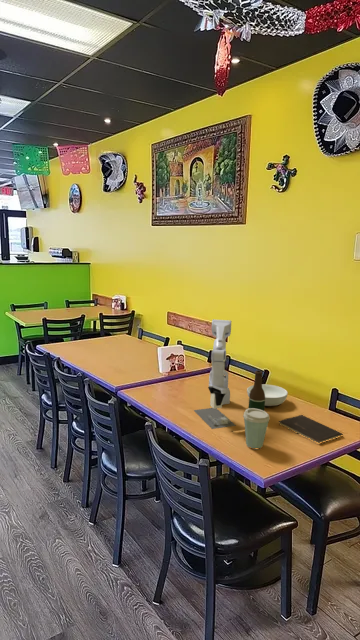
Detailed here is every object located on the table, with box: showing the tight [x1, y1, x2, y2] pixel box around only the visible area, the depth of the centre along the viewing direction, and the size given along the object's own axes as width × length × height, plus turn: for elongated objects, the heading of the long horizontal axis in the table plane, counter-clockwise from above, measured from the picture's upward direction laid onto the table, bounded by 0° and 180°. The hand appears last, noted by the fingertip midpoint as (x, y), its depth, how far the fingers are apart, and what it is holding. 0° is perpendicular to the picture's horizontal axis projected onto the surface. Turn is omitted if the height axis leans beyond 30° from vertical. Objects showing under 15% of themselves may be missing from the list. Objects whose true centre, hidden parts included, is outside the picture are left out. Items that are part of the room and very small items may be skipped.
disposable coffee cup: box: [243, 408, 270, 449], centre depth 170 cm, size 11×11×15 cm
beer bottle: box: [247, 370, 266, 411], centre depth 195 cm, size 8×8×24 cm
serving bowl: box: [246, 383, 289, 407], centre depth 219 cm, size 21×21×7 cm
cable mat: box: [193, 407, 237, 430], centre depth 196 cm, size 12×22×1 cm, turn 20°
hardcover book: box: [278, 414, 344, 443], centre depth 188 cm, size 16×23×2 cm
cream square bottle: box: [209, 393, 223, 409], centre depth 193 cm, size 4×4×7 cm
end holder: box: [208, 412, 231, 426], centre depth 192 cm, size 8×7×2 cm
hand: (216, 403), depth 193 cm, fingers closed on cream square bottle, 4 cm apart
